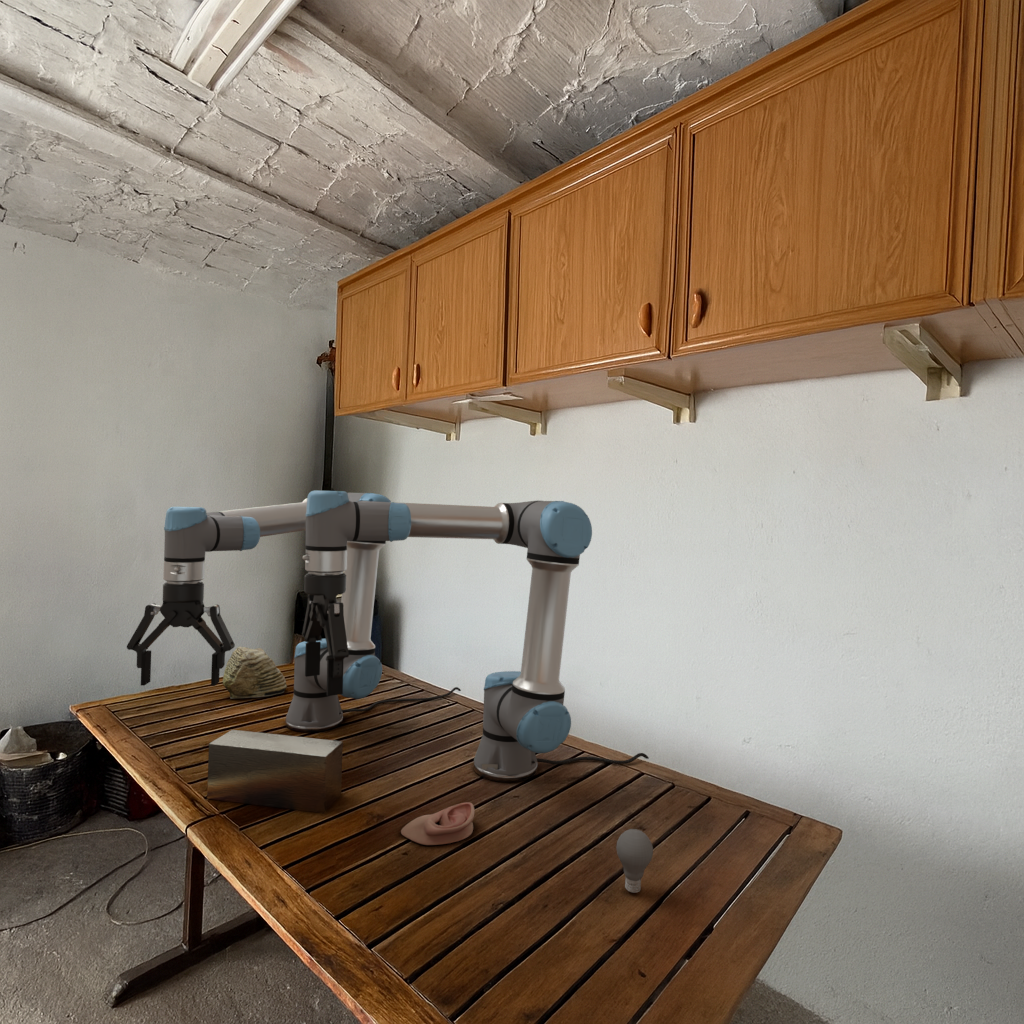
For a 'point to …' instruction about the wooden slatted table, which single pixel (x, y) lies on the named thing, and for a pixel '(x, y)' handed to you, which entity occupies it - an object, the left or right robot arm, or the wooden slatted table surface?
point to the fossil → (252, 674)
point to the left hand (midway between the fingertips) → (180, 683)
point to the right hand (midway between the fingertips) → (322, 684)
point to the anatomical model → (442, 825)
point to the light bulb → (634, 857)
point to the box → (275, 770)
